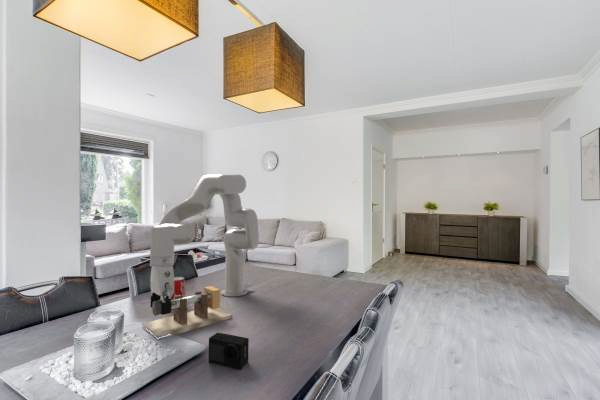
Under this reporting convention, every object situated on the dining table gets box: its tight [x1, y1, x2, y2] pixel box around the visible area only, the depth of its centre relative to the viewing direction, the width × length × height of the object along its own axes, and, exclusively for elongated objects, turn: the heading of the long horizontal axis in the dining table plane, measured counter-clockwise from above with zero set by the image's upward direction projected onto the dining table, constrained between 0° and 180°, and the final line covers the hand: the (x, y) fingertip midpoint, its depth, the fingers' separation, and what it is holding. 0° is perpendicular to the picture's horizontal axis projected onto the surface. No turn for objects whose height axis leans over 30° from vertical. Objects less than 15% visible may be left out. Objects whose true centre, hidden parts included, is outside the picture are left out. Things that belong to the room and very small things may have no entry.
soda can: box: [172, 276, 186, 300], centre depth 128 cm, size 7×7×12 cm
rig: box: [142, 290, 233, 338], centre depth 112 cm, size 28×14×10 cm, turn 135°
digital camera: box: [208, 332, 250, 371], centre depth 83 cm, size 10×5×7 cm, turn 71°
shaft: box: [151, 292, 211, 317], centre depth 111 cm, size 24×5×5 cm, turn 135°
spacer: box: [203, 285, 221, 309], centre depth 118 cm, size 3×7×7 cm, turn 45°
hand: (160, 310), depth 104 cm, fingers open, 9 cm apart
